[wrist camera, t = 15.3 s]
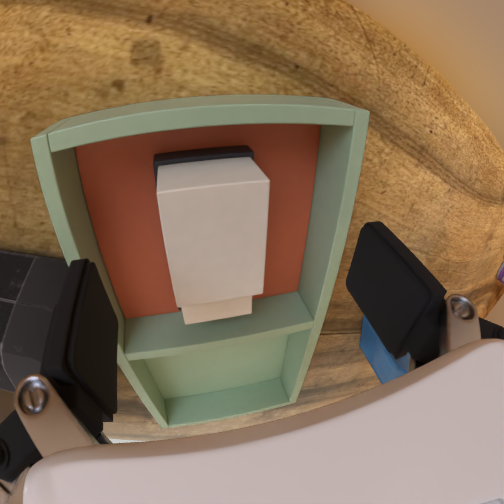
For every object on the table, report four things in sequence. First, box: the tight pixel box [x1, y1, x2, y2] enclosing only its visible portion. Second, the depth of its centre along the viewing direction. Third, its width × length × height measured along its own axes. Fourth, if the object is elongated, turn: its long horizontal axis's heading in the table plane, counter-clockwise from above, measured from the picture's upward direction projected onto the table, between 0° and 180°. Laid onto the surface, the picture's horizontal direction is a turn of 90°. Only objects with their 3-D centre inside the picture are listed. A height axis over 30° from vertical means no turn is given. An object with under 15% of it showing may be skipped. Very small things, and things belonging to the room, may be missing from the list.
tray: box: [31, 94, 370, 428], centre depth 18 cm, size 14×26×4 cm, turn 179°
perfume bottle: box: [360, 315, 410, 384], centre depth 24 cm, size 6×6×12 cm
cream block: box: [153, 145, 270, 324], centre depth 14 cm, size 9×4×4 cm, turn 179°
